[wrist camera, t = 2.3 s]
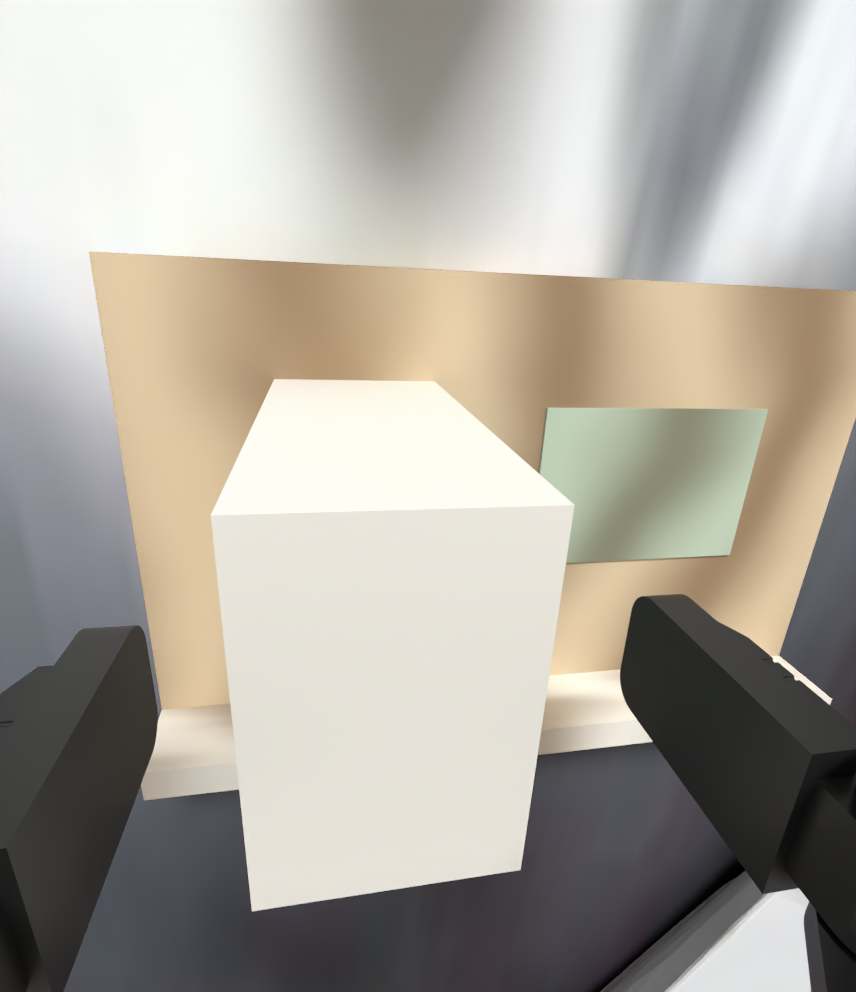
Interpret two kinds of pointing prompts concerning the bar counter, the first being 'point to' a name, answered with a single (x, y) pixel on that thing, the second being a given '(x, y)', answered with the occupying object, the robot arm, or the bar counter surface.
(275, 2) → the bar counter surface
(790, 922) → the salad plate
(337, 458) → the carton
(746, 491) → the shelf board
